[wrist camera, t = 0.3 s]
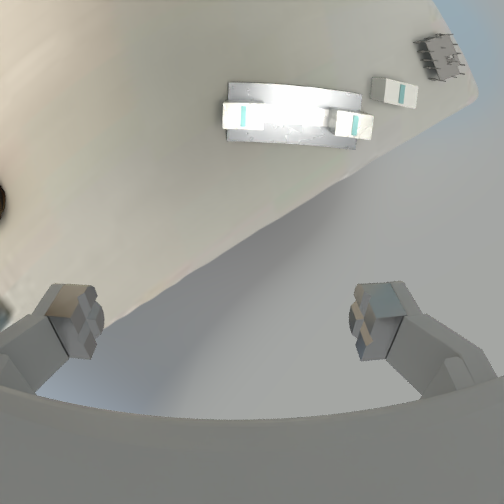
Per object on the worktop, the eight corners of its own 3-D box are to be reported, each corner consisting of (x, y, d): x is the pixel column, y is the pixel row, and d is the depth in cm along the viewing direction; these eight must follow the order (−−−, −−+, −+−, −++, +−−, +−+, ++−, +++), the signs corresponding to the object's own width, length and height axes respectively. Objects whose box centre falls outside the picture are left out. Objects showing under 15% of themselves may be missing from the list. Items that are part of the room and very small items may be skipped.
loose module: (372, 76, 46) (387, 78, 40) (402, 83, 46) (419, 86, 40) (369, 98, 48) (384, 102, 42) (399, 104, 48) (416, 109, 43)
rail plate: (226, 82, 46) (223, 83, 41) (362, 94, 47) (376, 98, 42) (224, 139, 52) (222, 148, 46) (355, 148, 53) (368, 158, 47)
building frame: (436, 33, 40) (454, 32, 35) (451, 71, 44) (469, 74, 38) (411, 41, 41) (428, 39, 36) (427, 80, 45) (445, 83, 40)
